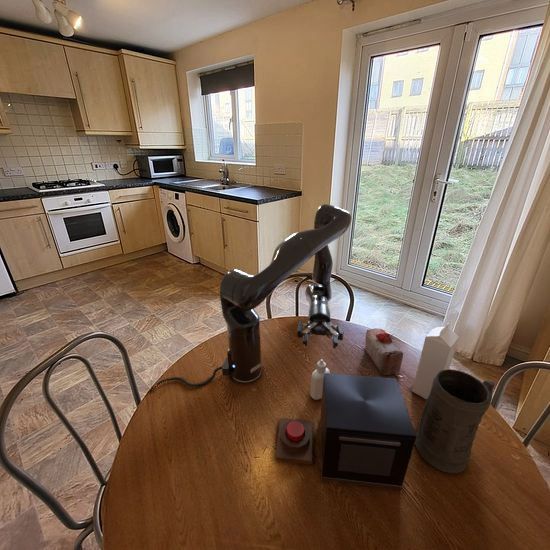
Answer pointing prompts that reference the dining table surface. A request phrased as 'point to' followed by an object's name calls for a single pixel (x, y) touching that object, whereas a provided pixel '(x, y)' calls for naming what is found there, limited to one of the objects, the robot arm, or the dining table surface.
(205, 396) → the dining table surface
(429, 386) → the milk
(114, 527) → the dining table surface
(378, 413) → the oven
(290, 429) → the button
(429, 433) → the beer stein
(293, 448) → the housing
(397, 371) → the food item
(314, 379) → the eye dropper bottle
